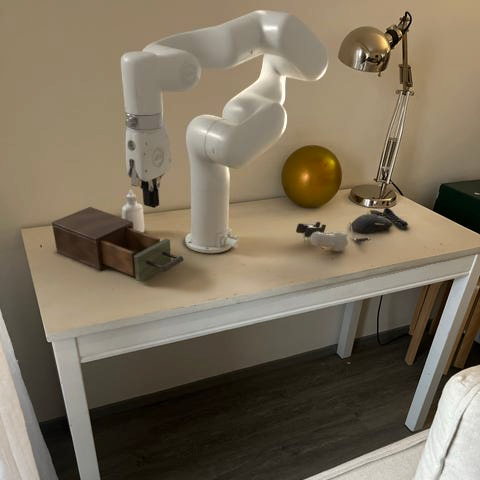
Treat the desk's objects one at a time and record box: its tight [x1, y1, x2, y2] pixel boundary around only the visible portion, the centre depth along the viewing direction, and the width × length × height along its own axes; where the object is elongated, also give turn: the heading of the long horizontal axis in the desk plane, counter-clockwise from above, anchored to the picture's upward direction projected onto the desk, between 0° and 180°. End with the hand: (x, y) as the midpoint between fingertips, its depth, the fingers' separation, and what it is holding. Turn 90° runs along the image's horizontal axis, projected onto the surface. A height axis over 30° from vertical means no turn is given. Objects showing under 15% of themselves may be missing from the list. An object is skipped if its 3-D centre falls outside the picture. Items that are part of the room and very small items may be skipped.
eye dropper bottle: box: [121, 189, 145, 233], centre depth 131 cm, size 4×6×12 cm
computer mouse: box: [349, 207, 409, 234], centre depth 147 cm, size 12×18×4 cm
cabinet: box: [51, 206, 133, 271], centre depth 123 cm, size 15×12×8 cm
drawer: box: [99, 227, 185, 283], centre depth 117 cm, size 19×11×6 cm, turn 57°
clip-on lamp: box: [295, 221, 371, 252], centre depth 133 cm, size 12×6×18 cm
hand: (151, 205), depth 114 cm, fingers closed
